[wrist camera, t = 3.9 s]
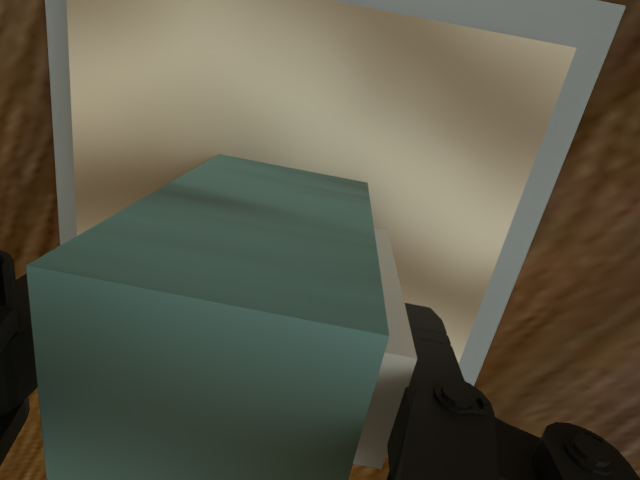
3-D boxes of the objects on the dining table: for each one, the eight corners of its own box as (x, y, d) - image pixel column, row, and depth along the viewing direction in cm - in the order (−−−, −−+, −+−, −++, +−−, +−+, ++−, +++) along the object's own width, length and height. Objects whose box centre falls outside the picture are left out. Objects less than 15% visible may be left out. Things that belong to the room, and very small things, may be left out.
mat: (448, 436, 20) (450, 443, 19) (73, 363, 20) (67, 369, 19) (618, 7, 13) (626, 5, 12) (47, -102, 13) (38, -107, 13)
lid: (427, 412, 19) (502, 748, 9) (99, 348, 19) (-154, 618, 9) (557, 50, 13) (1068, -19, 4) (88, -40, 13) (-562, -330, 4)
